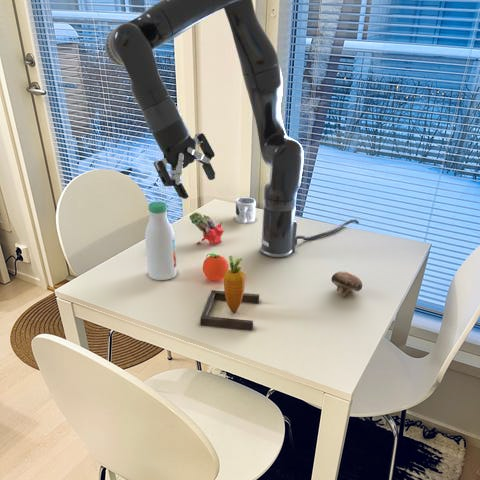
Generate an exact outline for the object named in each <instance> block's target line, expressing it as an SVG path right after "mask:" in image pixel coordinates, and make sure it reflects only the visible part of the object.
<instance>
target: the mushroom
mask: <svg viewBox="0 0 480 480" xmlns="http://www.w3.org/2000/svg"><path fill="white" fill-rule="evenodd" d="M330 280H331V283H333V285H335V286H336V291H337V292H338V293H339V294H340V295H341V296H343V297H346V295H347V293H348V292H351V291H352V292H359V291H361V290H362V288H363V282H362V280H361V278H359V277H358V276H357V275H355V274H353V273H351V272H348V271H343V270H342V271H337V272H335V273H334V274H332V276H331V279H330Z"/></svg>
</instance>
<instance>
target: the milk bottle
mask: <svg viewBox="0 0 480 480" xmlns="http://www.w3.org/2000/svg"><path fill="white" fill-rule="evenodd" d="M167 213H168V205H167V203H166V202H165V201H152V202H150V203H149V204H148V214H149V220H148V222H147V225H146V229H145V233H144V240H145V253H146V265H147V273H148V274H147V275H148V276H149V277H150V278H151V279H153V280H155V281H167V280H170V279H173V278H174V277H175V276H176V275H177V271H178V270H177V254H176V253H177V251H176V238H175V231H174V228H173V226H172V225H171V222H170V221H169V219H168V216H167Z"/></svg>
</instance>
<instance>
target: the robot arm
mask: <svg viewBox="0 0 480 480" xmlns="http://www.w3.org/2000/svg"><path fill="white" fill-rule="evenodd" d="M222 9H223V10H224V13H225V15H226V19H227V21H228V24H229V28H230V32H231V34H232V37H233V43H234V45H235V49H236V53H237V57H238V60H239V65H240V70H241V73H242V77H243V81H244V85H245V88H246V91H247V95H248V99H249V102H250V106H251V110H252V114H253V118H254V120H255V125H256V130H257V137H258V145H259V149H260V150H259V151H260V155H261V158H262V161H263V163H264V164H265V165H266V166H267V167H268V168H270V169H271V179H270V181H269V182H267V183H266V184H265V185H264V188H263V208H262V226H261V227H262V228H261V239H260V243H261V244H260V245H261V246H260V251H261V253H262V254H263V255H265V256H267V257H270V258H285V257H289V256H290V255H292V254H293V253H295V251H296V245H297V244H298V240H303V241H312V240H315V239H318V238H321V237H324V236H327V235H330V234H334V233H336V232H338V231H339V230H341V229H342V228H343V227H345V226H347V225H350V224H351V223H355V224H357V225H358V224H360V221H359V220H358V219H356V218H355V219H354V218H352V219H349V220H348V221H345V222H342V223H341V224H340V225H339V226H337V227H336V228H334V229H331V230H328V231H325V232H321V233H318V234H315V235H311V236H305V235H297V229H298V222H297V221H296V220H295V218H296V205H297V195H298V194H297V193H298V192H299V191H298V190H299V189H300V187H301V182H302V175H303V168H304V159H305V158H304V157H305V156H304V155H305V154H304V149H303V147H302V145H301V143H299V141H297V140H295V139H293V138H291V137H289V136H288V135H287V132H286V129H285V126H284V123H283V118H282V112H281V111H282V110H281V105H282V98H283V88H284V82H283V81H284V80H283V75H282V69H281V65H280V62H279V57H278V53H277V51H276V49H275V47H274V45H273V43H272V42H271V40H270V38H269V36H268V35H267V34H266V32H265V30H264V28H263V26H262V25H261V23H260V21H259V19H258V17H257V14H256V10H255V7H254V1H253V0H159V1H158V2H156V3H154V4H153V5H152V6H150V7H149V8H148V9H146V10H145V11H144V12H142V14H140V15H139V16H137V17H135V18H133V19H132V20H130V21H128V22H125V23H122V24H120V25H118V26H117V27H116V28H114V29H113V30H111V31H110V32H109V33H108V35H107V36H106V39H105V42H104V49H105V54H106V56H107V58H108V59H109V60H110V61H111V62H112V63H113V64H114V65H116V66H119V67H124V68H125V70H126V72H127V74H128V77H129V79H130V84H129V89H130V92H131V94H132V96H133V98H134V100H135V102H136V103H137V106H138V108H139V109H140V111H141V114H142V115H143V118H144V122H145V123H146V125H147V127H148V129H149V131H150V133H151V134H152V136H153V138H154V140H155V143H157V145H158V148H159V149H160V151H161V152H162V154H163V158H161V159H159V160H156V161H154V162H153V166H154V168H155V170H156V172H157V175H158V177H159V179H160V181H161V183H162V185H163V186H164V187H173V188H174V190H175V192H176V194H177V196H178V197H179V198H180V199H183V200H187V199H188V198H189V194H188V191H187V190H186V188H185V186H184V185H183V183H182V182H181V177H182V174H183V169H185V168H187V167H188V165H190V164H193V163H194V162H195V161H196V162H197V163H199V164H201V167H202V169H203V171H204V173H205V175H206V178H207V180H209V181H214V180H215V179H216V172H215V170H214V167H213V165H212V164H211V160H212V159H213V158H214V157H215V155H216V154H215V152H214V150H213V148H212V146H211V144H210V142H209V141H208V139H207V137H206V135H205V133H203V132H202V133H195V135H194V137H192V136H191V132H190V130H189V129H188V126H187V124H186V123H185V121H184V118H183V116H182V115H181V112H180V110H179V108H178V106H177V105H176V102H175V101H174V100H173V98H172V96H171V95H170V92H169V91H168V89H167V87H166V85H165V83H164V80H163V79H162V77H161V75H160V71H159V67H158V63H157V61H156V58H155V54H154V51H153V50H154V49H156V48H158V47H160V46H163V45H165V44H167V43H169V42H171V41H172V40H174V39H175V38H177V37H179V36H180V35H182V34H183V33H185V32H186V31H188V30H190V29H191V28H193V27H194V26H196V25H197V24H199V23H200V22H201V21H204V20H206V19H207V18H209V17H210V16H212V15H214V14H215V13H217V12H219V11H221V10H222ZM197 146H199V148H200V150H201V152H202V153H201V152H199V151H197V148H196V147H197ZM167 164H168V165H170V166H169V167H170V170H169V171H168V169H167V168H168V165H167Z"/></svg>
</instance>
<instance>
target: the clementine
mask: <svg viewBox="0 0 480 480" xmlns="http://www.w3.org/2000/svg"><path fill="white" fill-rule="evenodd" d="M227 270H229V263H228V261H227V259H226V258H225V257H224V256H222V255H220V254H216V253H209V254H206V257H205V259H204V261H203V263H202V272H203V274H204V276H205V277H206V278H207V279H208V280H211V281H213V282H218V281H221V280H224V274H225V273H226V272H227Z"/></svg>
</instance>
